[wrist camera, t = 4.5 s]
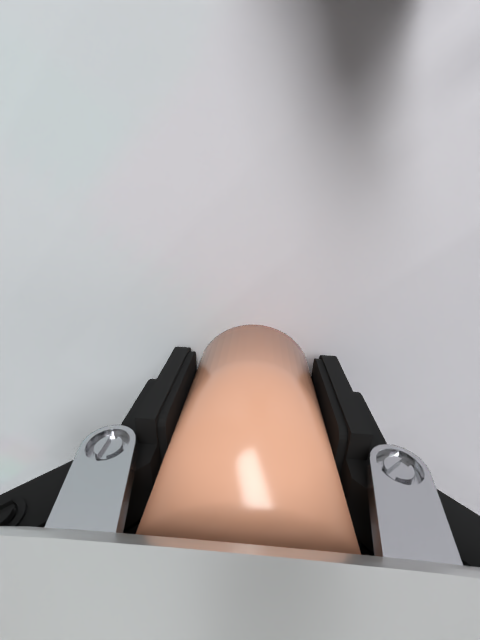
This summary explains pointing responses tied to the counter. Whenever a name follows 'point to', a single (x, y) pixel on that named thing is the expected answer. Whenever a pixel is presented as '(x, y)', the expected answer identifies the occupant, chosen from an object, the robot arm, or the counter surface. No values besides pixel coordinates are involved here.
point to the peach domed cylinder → (251, 453)
